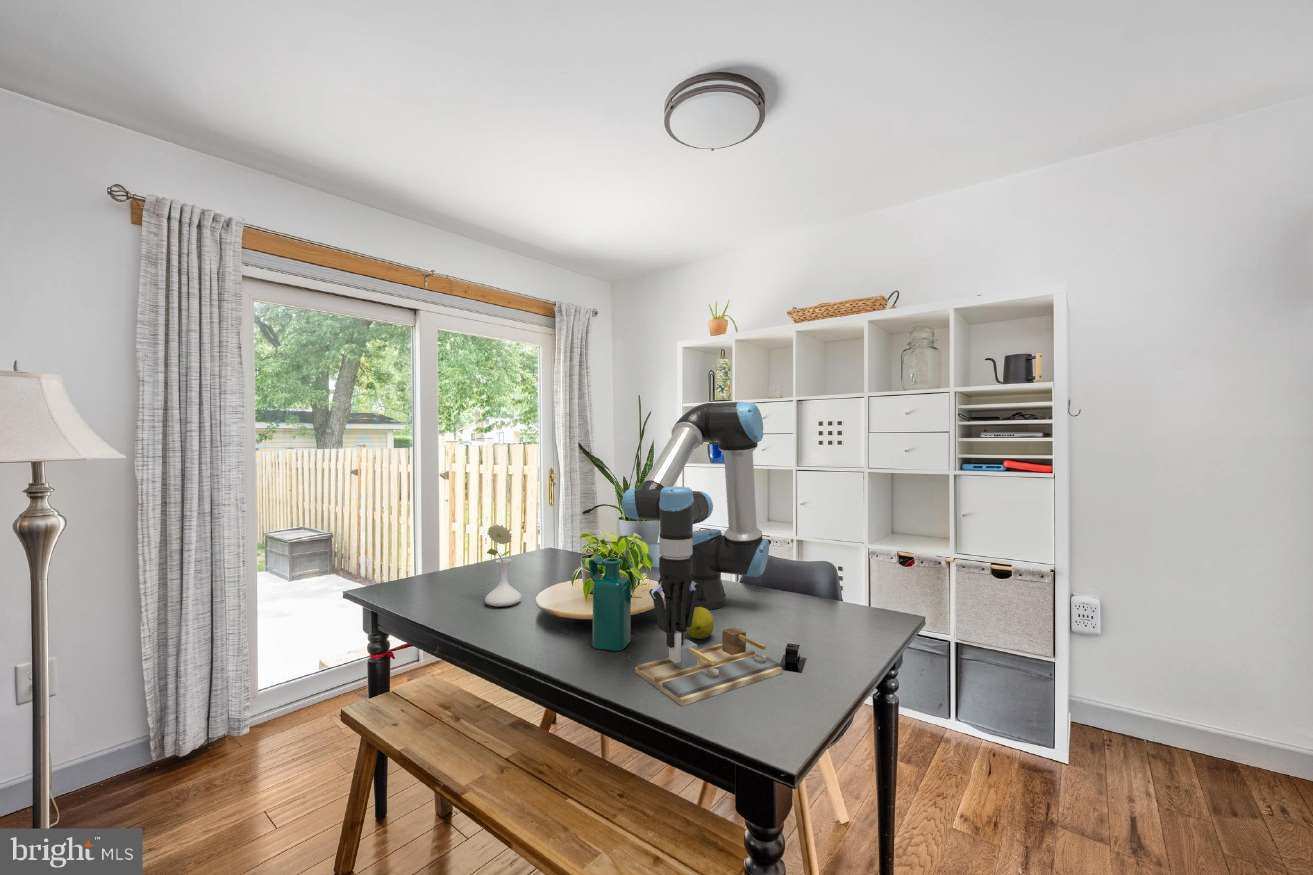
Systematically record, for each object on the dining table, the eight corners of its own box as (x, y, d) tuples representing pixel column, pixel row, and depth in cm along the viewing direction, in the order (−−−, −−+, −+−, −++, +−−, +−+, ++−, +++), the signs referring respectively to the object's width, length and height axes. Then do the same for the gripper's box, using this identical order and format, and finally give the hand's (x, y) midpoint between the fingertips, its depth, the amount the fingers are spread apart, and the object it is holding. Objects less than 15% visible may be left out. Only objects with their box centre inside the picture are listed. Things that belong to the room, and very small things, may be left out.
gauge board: (729, 647, 138) (730, 622, 138) (782, 673, 123) (782, 645, 123) (635, 672, 122) (635, 645, 122) (681, 706, 107) (682, 674, 107)
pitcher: (632, 640, 142) (633, 556, 142) (621, 652, 134) (622, 563, 134) (597, 636, 144) (598, 553, 144) (585, 648, 136) (585, 560, 136)
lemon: (689, 629, 150) (689, 601, 150) (717, 633, 148) (717, 603, 148) (679, 644, 140) (679, 613, 140) (708, 647, 137) (709, 616, 137)
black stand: (781, 653, 135) (781, 635, 135) (811, 658, 132) (812, 639, 132) (772, 673, 124) (772, 653, 124) (805, 679, 121) (805, 658, 121)
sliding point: (686, 659, 127) (686, 639, 126) (720, 679, 116) (721, 657, 116) (672, 663, 124) (672, 642, 124) (706, 684, 114) (706, 661, 114)
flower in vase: (529, 602, 174) (530, 524, 174) (501, 612, 164) (502, 529, 164) (501, 595, 180) (501, 520, 180) (473, 604, 171) (473, 525, 171)
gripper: (689, 549, 129) (688, 648, 129) (642, 556, 122) (641, 660, 122) (708, 555, 123) (708, 659, 123) (660, 562, 116) (660, 673, 116)
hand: (674, 660), depth 122 cm, fingers closed
